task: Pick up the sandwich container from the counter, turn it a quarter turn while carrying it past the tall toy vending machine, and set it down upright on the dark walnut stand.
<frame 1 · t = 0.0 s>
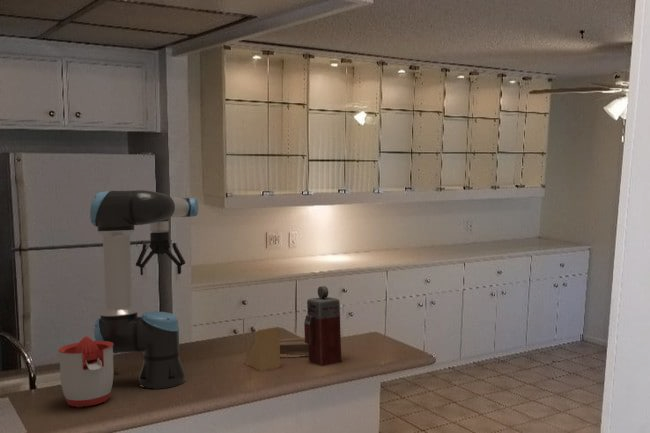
hand: (161, 282, 248), 28 cm above the counter, tool pointing down, fingers open, 13 cm apart
citrus juicer: (89, 403, 180), on the counter
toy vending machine: (322, 362, 219), on the counter
sandwich container: (261, 366, 218), on the counter
walnut stand: (303, 353, 233), on the counter
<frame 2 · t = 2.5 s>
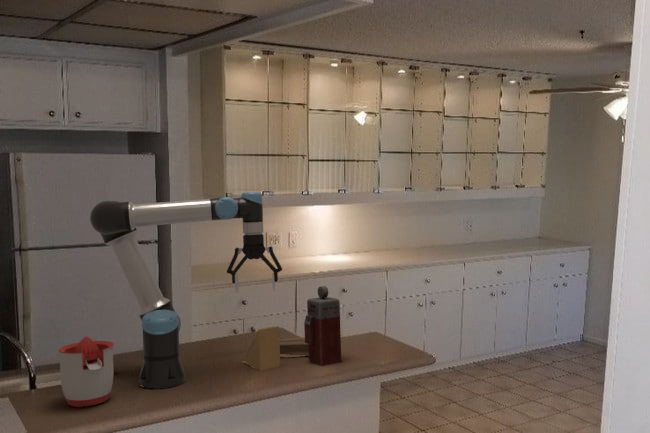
hand: (255, 291, 219), 27 cm above the counter, tool pointing down, fingers open, 13 cm apart
nothing on the counter moved.
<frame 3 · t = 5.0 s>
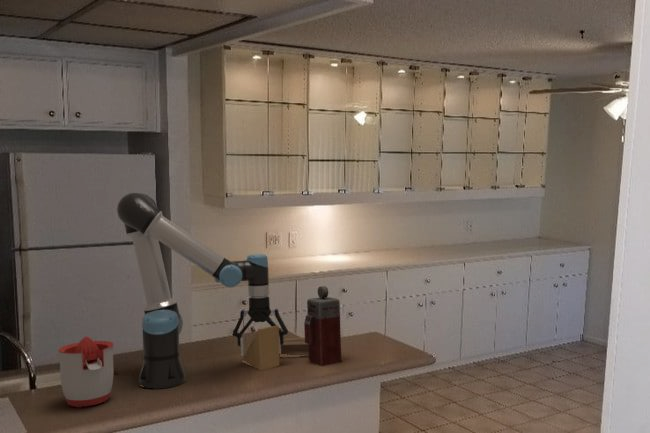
hand: (261, 354, 218), 4 cm above the counter, tool pointing down, fingers open, 13 cm apart
sandwich container: (259, 365, 219), on the counter, touching gripper
everything else where it was.
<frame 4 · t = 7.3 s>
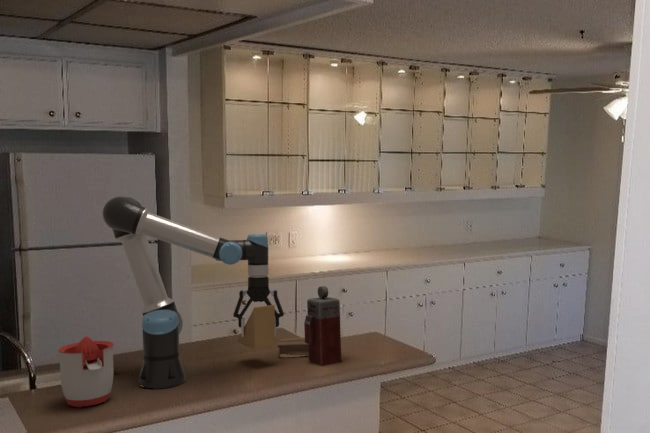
hand: (259, 336, 218), 11 cm above the counter, tool pointing down, fingers closed on sandwich container, 11 cm apart
sandwich container: (255, 344, 219), point 7 cm above the counter, touching gripper
everything else where it was.
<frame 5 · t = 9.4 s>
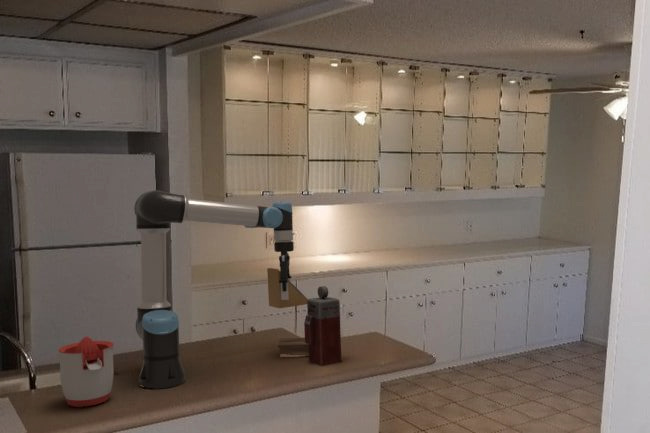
hand: (286, 297, 232), 22 cm above the counter, tool pointing down, fingers closed on sandwich container, 11 cm apart
sandwich container: (291, 305, 233), point 19 cm above the counter, touching gripper
everything else where it was.
when the fingers open (9 cm above the counter, at t = 13.0 s): sandwich container drops 1 cm, resting on walnut stand.
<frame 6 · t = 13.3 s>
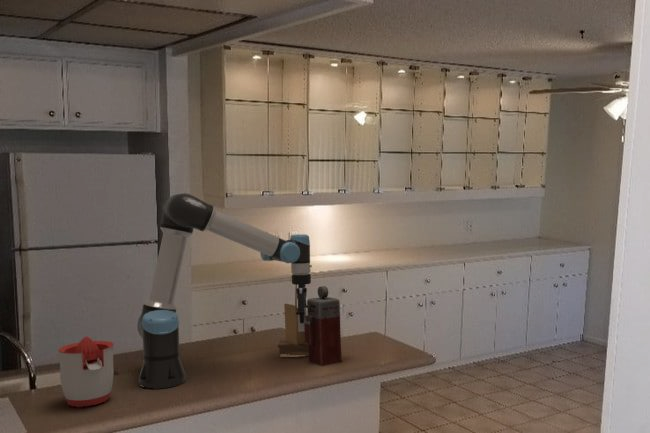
hand: (302, 327, 233), 10 cm above the counter, tool pointing down, fingers open, 13 cm apart
sandwich container: (307, 340, 234), point 5 cm above the counter, touching walnut stand
everything else where it was.
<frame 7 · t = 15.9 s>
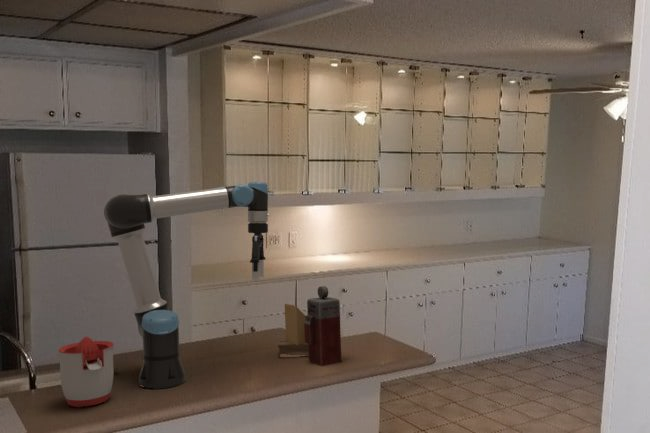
hand: (257, 278, 225), 31 cm above the counter, tool pointing down, fingers open, 13 cm apart
nothing on the counter moved.
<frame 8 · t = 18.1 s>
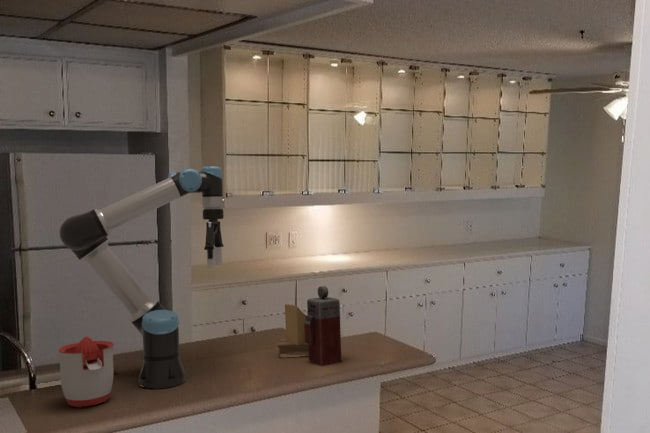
hand: (214, 266, 218), 37 cm above the counter, tool pointing down, fingers open, 13 cm apart
nothing on the counter moved.
at the end: sandwich container inside the target area on the walnut stand (2.3 cm from its centre), point 4.8 cm above the walnut stand's base; sandwich container tilted 0°; the gripper is holding nothing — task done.
